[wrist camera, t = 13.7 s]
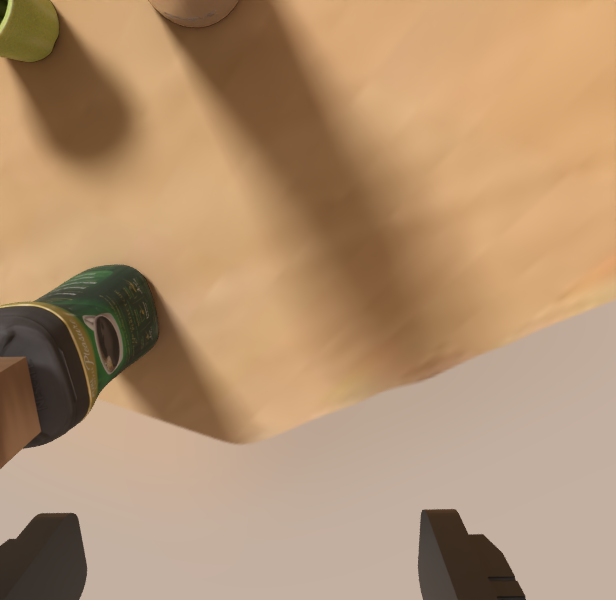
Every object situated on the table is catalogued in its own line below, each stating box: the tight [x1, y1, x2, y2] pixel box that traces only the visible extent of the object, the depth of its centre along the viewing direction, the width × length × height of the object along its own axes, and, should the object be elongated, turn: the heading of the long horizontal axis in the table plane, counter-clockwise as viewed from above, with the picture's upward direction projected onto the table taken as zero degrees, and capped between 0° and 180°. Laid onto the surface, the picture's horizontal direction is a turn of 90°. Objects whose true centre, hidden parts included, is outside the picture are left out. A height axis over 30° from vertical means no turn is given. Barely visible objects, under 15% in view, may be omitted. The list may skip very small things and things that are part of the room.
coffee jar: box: [0, 265, 159, 449], centre depth 35 cm, size 10×8×19 cm
